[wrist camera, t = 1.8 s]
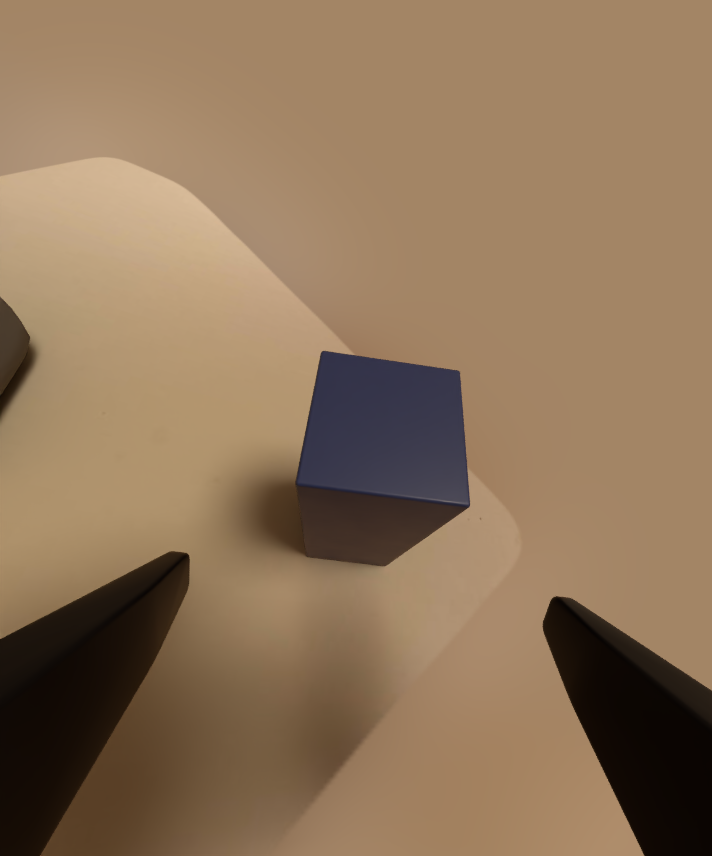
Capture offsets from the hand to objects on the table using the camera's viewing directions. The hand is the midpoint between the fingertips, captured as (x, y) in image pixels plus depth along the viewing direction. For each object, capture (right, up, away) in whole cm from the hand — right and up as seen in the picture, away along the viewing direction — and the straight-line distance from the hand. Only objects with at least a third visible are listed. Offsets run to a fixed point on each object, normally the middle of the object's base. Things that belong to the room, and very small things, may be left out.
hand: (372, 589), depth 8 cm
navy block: (-1, -2, +12) cm, 12 cm away
